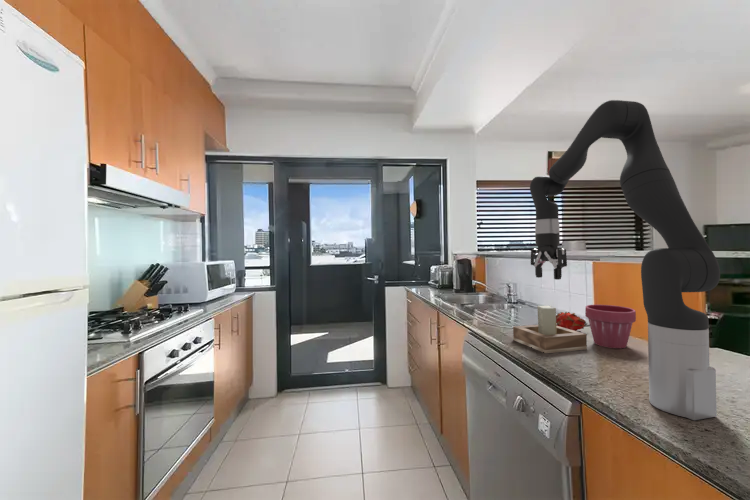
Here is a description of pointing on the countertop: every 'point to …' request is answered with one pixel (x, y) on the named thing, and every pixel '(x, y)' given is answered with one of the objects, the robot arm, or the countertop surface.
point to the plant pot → (610, 324)
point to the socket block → (550, 339)
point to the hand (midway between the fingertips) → (548, 278)
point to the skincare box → (547, 320)
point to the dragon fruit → (570, 321)
